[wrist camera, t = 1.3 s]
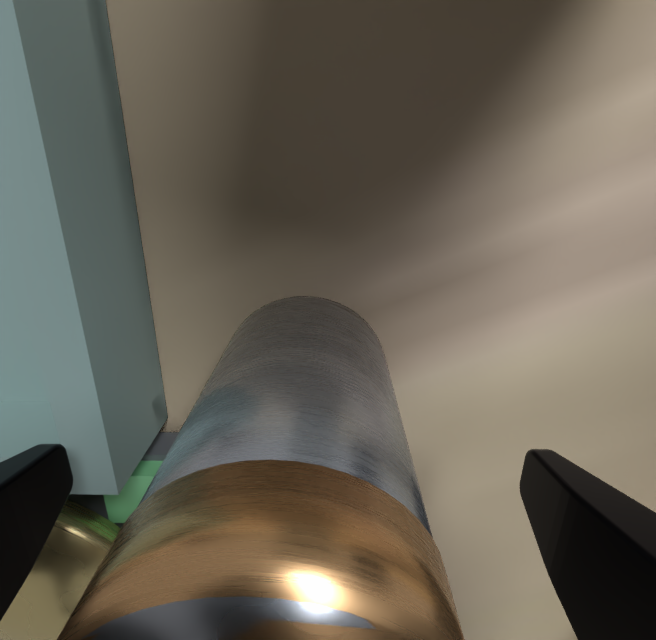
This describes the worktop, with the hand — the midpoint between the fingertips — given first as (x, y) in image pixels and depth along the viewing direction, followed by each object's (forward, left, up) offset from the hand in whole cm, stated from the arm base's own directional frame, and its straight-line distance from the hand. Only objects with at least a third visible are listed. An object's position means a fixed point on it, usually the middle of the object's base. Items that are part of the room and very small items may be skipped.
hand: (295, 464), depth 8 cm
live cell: (0, 0, -4) cm, 4 cm away
